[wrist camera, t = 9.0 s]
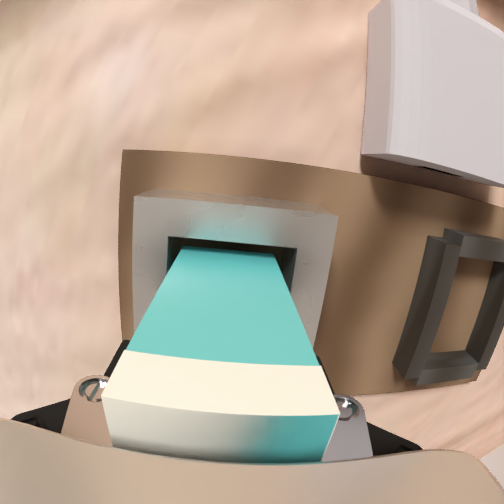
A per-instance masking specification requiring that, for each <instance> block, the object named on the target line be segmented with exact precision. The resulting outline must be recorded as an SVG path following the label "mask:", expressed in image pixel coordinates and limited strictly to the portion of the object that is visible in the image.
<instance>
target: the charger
mask: <svg viewBox="0 0 504 504" xmlns="http://www.w3.org/2000/svg"><path fill="white" fill-rule="evenodd" d="M361 155H364V156H369V157H374V158H378V159H383V160H388V161H393V162H397V163H402V164H406V165H410V166H415V167H417V166H424V167H429V168H433V169H436V170H440V171H444V172H448V173H451V174H455V175H459V176H462V177H458V176H454V177H458V178H461V179H465V180H469V181H473V182H477V183H481V184H486V185H492V186H497V187H503V188H504V33H503V32H502V31H501V30H500V29H498V28H497V27H495V26H494V25H492V24H490V23H489V22H487V21H485V20H484V19H482V18H480V17H479V13H478V7H477V1H476V0H381V1H380V2H379V3H378V4H377V5H376V6H375V7H374V8H373V9H372V10H371V11H370V12H369V13H368V56H367V79H366V96H365V110H364V123H363V134H362V144H361ZM419 168H421V167H419ZM423 169H425V168H423ZM427 170H429V169H427ZM431 171H433V170H431ZM435 172H437V171H435ZM439 173H441V172H439ZM443 174H444V173H443ZM447 175H448V174H447ZM450 176H452V175H450Z"/></svg>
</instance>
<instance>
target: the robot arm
mask: <svg viewBox="0 0 504 504" xmlns="http://www.w3.org/2000/svg"><path fill="white" fill-rule="evenodd" d="M130 341H131V340H126V339H125V340H123V341H122V343H121V345H120V347H119V348H118V350H117V352H116V354H115V356H114V357H113V359H112V361H111V363H110V365H109V367H108V369H107V370H106V372H105V374H104V376H102V375H92V376H87V377H85V378H83V379H81V380H79V381H78V382H77V383H76V385H75V387H74V389H73V392H72V396H71V399H68V400H65V401H61V402H58V403H55V404H52V405H48V406H45V407H41V408H38V409H35V410H31V411H28V412H24V413H21V414H18V415H16V416H14V417H13V418H12V419H11V420H10V419H4V418H0V504H504V489H503V488H502V486H501V485H500V483H499V482H498V481H497V479H496V478H495V477H494V476H493V474H492V473H491V472H490V471H489V470H488V468H487V467H486V466H485V465H484V464H483V463H481V461H480V460H478V459H477V458H476V457H474V456H472V455H470V454H468V453H464V452H460V451H455V450H443V449H430V450H423V449H422V448H421V447H420V446H419V445H417V444H415V443H413V442H411V441H408V440H406V439H404V438H401V437H399V436H397V435H395V434H392V433H390V432H388V431H386V430H383V429H381V428H379V427H377V426H375V425H372V424H370V423H368V422H366V417H365V413H364V409H363V407H362V405H361V404H360V403H359V402H358V401H357V400H355V399H354V398H352V397H349V396H347V395H341V394H335V393H334V390H333V388H332V386H331V383H330V381H329V378H328V376H327V374H326V371H325V369H324V366H323V364H322V362H321V359H320V357H319V356H317V355H315V356H316V358H317V361H318V363H319V366H321V367H322V369H323V372H324V374H325V377H326V379H327V382H328V384H329V387H330V389H331V392H332V394H333V397H334V399H335V401H336V404H337V406H338V409H339V411H340V416H339V419H338V421H337V424H336V426H335V429H334V432H333V434H332V437H331V439H330V442H329V444H328V446H327V449H326V451H325V454H324V456H323V458H322V461H321V462H305V463H235V462H217V461H204V460H194V459H184V458H176V457H169V456H161V455H155V454H148V453H142V452H137V451H131V450H126V449H121V448H116V447H113V445H112V441H111V437H110V433H109V429H108V425H107V421H106V417H105V412H104V408H103V403H102V398H101V395H102V392H103V390H104V388H105V386H106V384H107V382H108V380H109V379H110V377H111V375H112V373H113V371H114V369H115V367H116V365H117V363H118V361H119V359H120V357H121V355H122V353H123V351H124V350H126V348H127V347H128V345H129V343H130Z"/></svg>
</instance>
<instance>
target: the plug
mask: <svg viewBox="0 0 504 504" xmlns="http://www.w3.org/2000/svg"><path fill="white" fill-rule="evenodd" d="M101 398H102V403H103V408H104V412H105V417H106V421H107V425H108V429H109V433H110V437H111V441H112V445H113V447H116V448H121V449H126V450H131V451H137V452H142V453H148V454H155V455H161V456H169V457H176V458H184V459H194V460H204V461H217V462H235V463H305V462H321V461H322V458H323V456H324V454H325V451H326V449H327V446H328V444H329V442H330V439H331V437H332V434H333V432H334V429H335V426H336V424H337V421H338V419H339V416H340V411H339V409H338V406H337V404H336V401H335V399H334V397H333V394H332V392H331V389H330V387H329V384H328V382H327V379H326V377H325V374H324V372H323V369H322V367H321V366H319V363H318V361H317V358H316V356H315V353H314V351H313V348H312V346H311V343H310V341H309V338H308V336H307V333H306V331H305V329H304V326H303V324H302V321H301V319H300V316H299V314H298V312H297V309H296V307H295V304H294V302H293V299H292V297H291V295H290V292H289V290H288V287H287V285H286V283H285V280H284V278H283V275H282V273H281V271H280V268H279V266H278V264H277V261H276V259H275V256H274V254H268V253H257V252H246V251H235V250H224V249H213V248H202V247H192V246H183V247H182V249H181V251H180V253H179V254H178V256H177V258H176V259H175V261H174V263H173V265H172V266H171V268H170V270H169V272H168V273H167V275H166V277H165V279H164V280H163V282H162V284H161V286H160V287H159V289H158V291H157V293H156V295H155V296H154V298H153V300H152V302H151V304H150V305H149V307H148V309H147V311H146V313H145V315H144V316H143V318H142V320H141V322H140V324H139V326H138V328H137V329H136V331H135V333H134V335H133V337H132V339H131V341H130V343H129V345H128V347H127V348H126V350H124V351H123V353H122V355H121V357H120V359H119V361H118V363H117V365H116V367H115V369H114V371H113V373H112V375H111V377H110V379H109V380H108V382H107V384H106V386H105V388H104V390H103V392H102V395H101Z"/></svg>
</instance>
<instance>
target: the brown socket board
mask: <svg viewBox="0 0 504 504" xmlns="http://www.w3.org/2000/svg"><path fill="white" fill-rule="evenodd" d="M152 189H169V190H182V191H195V192H207V193H218V194H229V195H239V196H249V197H258V198H267V199H276V200H285V201H293V202H302V203H310V204H317V205H320V206H321V207H323V208H325V209H327V210H329V211H330V212H332V213H334V214H336V215H338V223H337V229H336V235H335V241H334V247H333V253H332V258H331V264H330V269H329V275H328V280H327V285H326V290H325V295H324V300H323V305H322V310H321V315H320V319H319V324H318V328H317V333H316V337H315V342H314V346H313V351H314V353H315V355H317V356H319V357H320V359H321V362H322V364H323V366H324V369H325V371H326V374H327V376H328V378H329V381H330V383H331V386H332V388H333V390H334V393H335V394H341V395H363V394H378V393H390V392H401V391H410V390H419V389H427V388H434V387H441V386H448V385H454V384H461V383H466V382H472V381H476V380H477V378H478V376H479V374H480V371H481V370H482V369H486V367H487V365H488V363H489V361H490V359H491V356H492V354H493V352H494V349H495V347H496V344H497V342H498V340H499V337H500V334H501V332H502V329H503V327H504V208H502V207H499V206H495V205H492V204H488V203H485V202H481V201H478V200H474V199H470V198H467V197H463V196H459V195H455V194H451V193H447V192H443V191H439V190H435V189H431V188H426V187H422V186H418V185H413V184H409V183H404V182H399V181H394V180H390V179H385V178H380V177H374V176H369V175H364V174H358V173H353V172H347V171H341V170H335V169H329V168H323V167H316V166H309V165H303V164H295V163H288V162H280V161H272V160H264V159H255V158H246V157H236V156H226V155H214V154H202V153H188V152H172V151H151V150H123V153H122V165H121V180H120V198H119V234H118V260H119V296H120V315H121V329H122V341H123V340H125V339H126V340H131V339H132V337H133V335H134V316H133V285H132V239H133V207H134V196H136V195H138V194H141V193H144V192H147V191H149V190H152ZM183 246H192V247H202V248H213V249H224V250H235V251H246V252H257V253H268V254H274V256H275V259H276V261H277V264H278V266H279V268H280V263H281V256H282V249H283V247H279V246H269V245H259V244H248V243H238V242H227V241H216V240H206V239H195V238H184V237H181V244H180V251H181V249H182V247H183Z"/></svg>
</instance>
